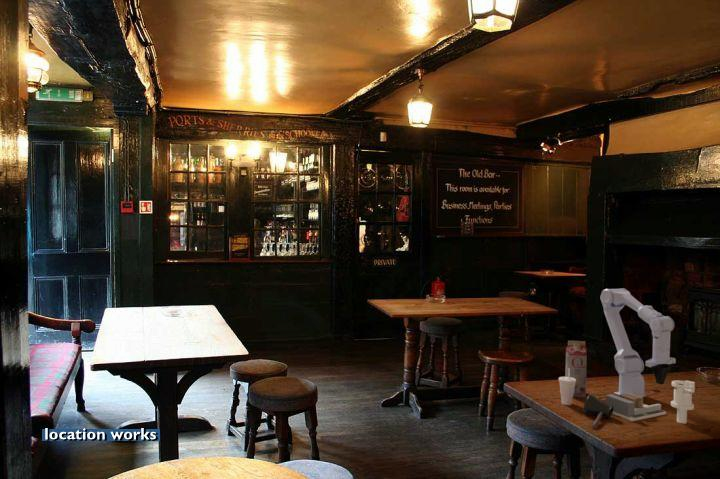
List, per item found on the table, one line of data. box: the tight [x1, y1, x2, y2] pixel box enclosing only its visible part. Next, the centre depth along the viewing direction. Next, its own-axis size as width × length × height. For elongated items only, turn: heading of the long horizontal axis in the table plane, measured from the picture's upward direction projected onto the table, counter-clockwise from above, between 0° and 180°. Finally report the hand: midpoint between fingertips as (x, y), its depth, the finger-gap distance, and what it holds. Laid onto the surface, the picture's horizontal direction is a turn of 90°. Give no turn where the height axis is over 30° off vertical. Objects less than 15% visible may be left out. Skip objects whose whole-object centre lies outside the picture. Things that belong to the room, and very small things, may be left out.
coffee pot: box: [583, 394, 613, 430], centre depth 194 cm, size 8×18×8 cm
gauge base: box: [604, 393, 667, 422], centre depth 203 cm, size 18×13×6 cm
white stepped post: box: [670, 380, 696, 425], centre depth 193 cm, size 7×7×15 cm
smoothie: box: [558, 368, 576, 406], centre depth 211 cm, size 6×6×14 cm
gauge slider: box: [619, 393, 647, 409], centre depth 201 cm, size 5×9×5 cm, turn 25°
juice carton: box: [564, 340, 588, 398], centre depth 223 cm, size 7×7×22 cm
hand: (660, 383), depth 207 cm, fingers closed
